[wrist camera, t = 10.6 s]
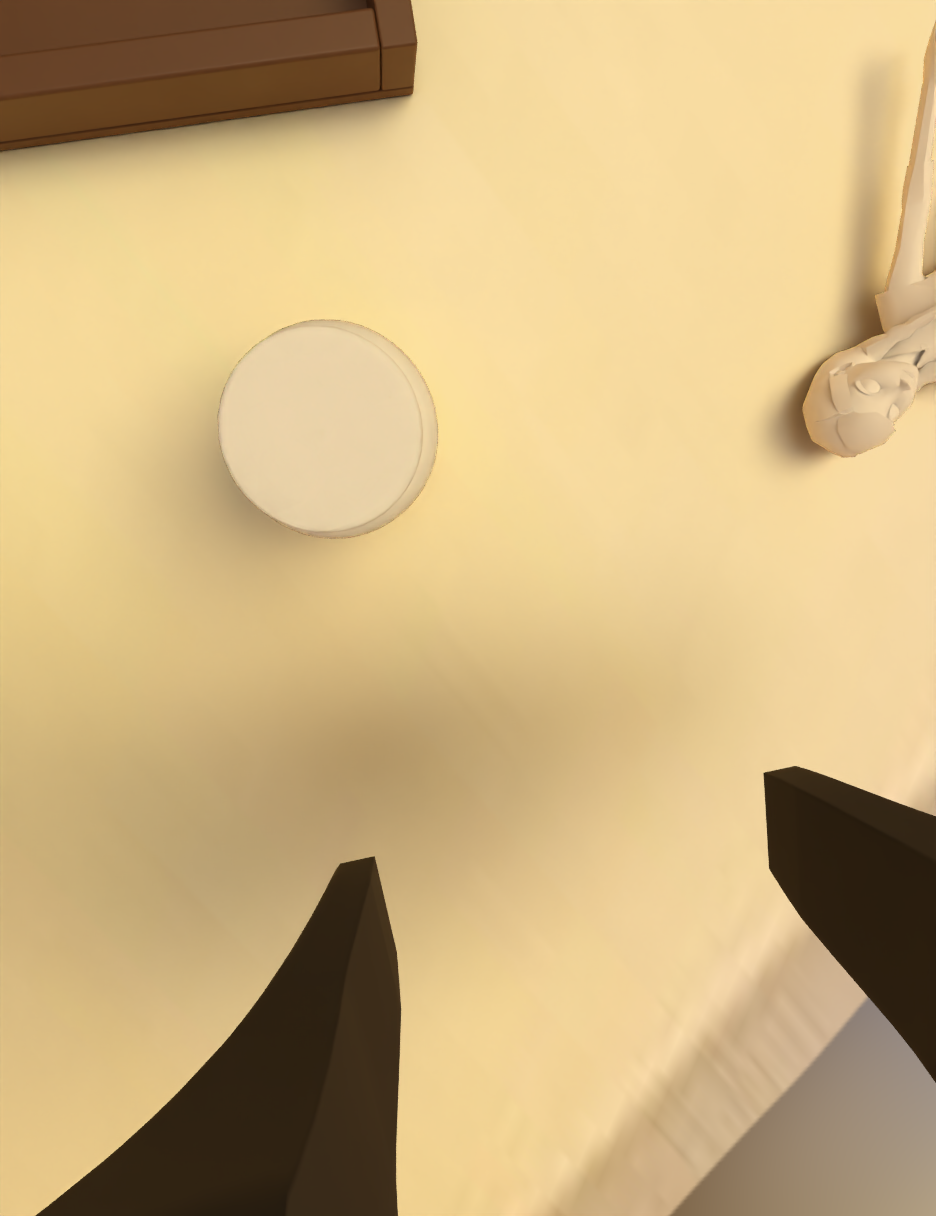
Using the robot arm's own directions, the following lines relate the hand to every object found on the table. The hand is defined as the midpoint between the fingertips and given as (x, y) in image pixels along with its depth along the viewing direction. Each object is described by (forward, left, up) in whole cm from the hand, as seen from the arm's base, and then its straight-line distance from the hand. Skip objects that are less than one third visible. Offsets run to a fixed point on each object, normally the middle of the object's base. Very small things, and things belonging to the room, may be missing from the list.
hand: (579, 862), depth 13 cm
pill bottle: (-3, +8, -10) cm, 13 cm away
